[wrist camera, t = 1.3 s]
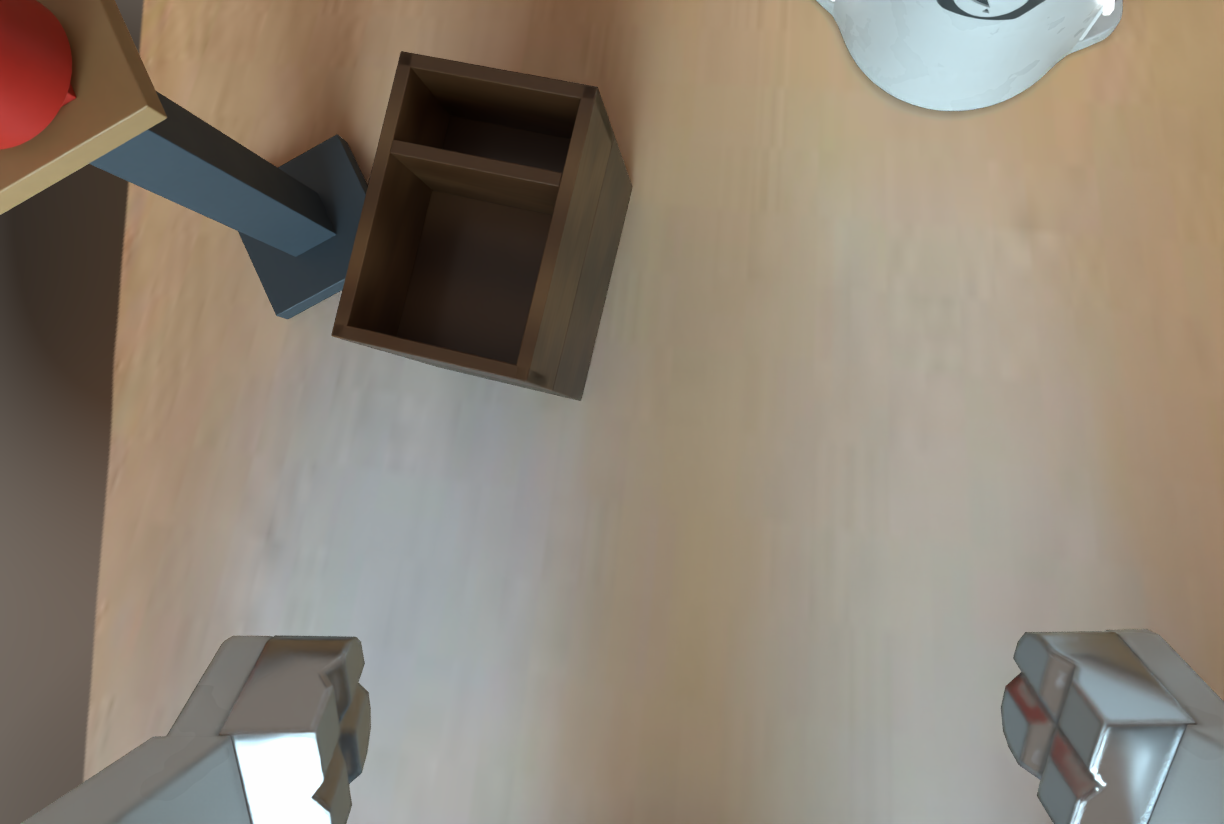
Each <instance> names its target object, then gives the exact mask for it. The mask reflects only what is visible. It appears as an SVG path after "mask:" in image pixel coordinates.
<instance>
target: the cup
mask: <svg viewBox="0 0 1224 824" xmlns="http://www.w3.org/2000/svg"><path fill="white" fill-rule="evenodd" d="M71 75H72V55H71V49H70V44H69V41H68V38H67V35H66V33H65V31H64V29H63V27H62V25H61V24H60V22H59V21H58V19H57V18H56V17H55V16H54V14H53V13H52V12H51V11H50V10H49V9H47V8H46V7H45V6H43V5H42V4H41V3H39V2H38V1H36V0H0V149H7V148H12V147H15V146H18V145H21V144H23V143H25V142H27V141H29V140H31V139H32V138H34V137H35V136H36V135H38V134H39V133H40V132H41V131H43V130H44V129H45V128H46V127H47V126H48V125H49V124H50V122H51V121H52V120H53V119H54V117H55V116H56V115H57V113H58V112H59V110H60V108H61V107H62V106H64V105H66V104H67V103H69V102H71V101H72V100H74V99H76V98H77V97H76V95H75V92H74V90H73V88H72V86H71V83H70V81H71Z"/></svg>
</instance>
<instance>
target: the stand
mask: <svg viewBox="0 0 1224 824" xmlns="http://www.w3.org/2000/svg"><path fill="white" fill-rule="evenodd" d="M36 1H38V2H39V3H41V4H42V5H43V6H45V7H46V8H47V9H49V10H50V11H51V12H52V13H53V14H54V16H55V17H56V18H57V19H58V21H59V22H60V24H61V25H62V27H63V29H64V31H65V33H66V35H67V38H68V41H69V44H70V49H71V55H72V75H71V81H70V83H71V86H72V88H73V90H74V92H75V95H76V97H77V98H76V99H74V100H72V101H71V102H69V103H67V104H66V105H64V106H62V107H61V108H60V110H59V112H58V113H57V115H56V116H55V117H54V119H53V120H52V121H51V122H50V124H49V125H48V126H47V127H46V128H45V129H44V130H43V131H41V132H40V133H39V134H38V135H36V136H35V137H34V138H32V139H31V140H29V141H27V142H25V143H23V144H21V145H18V146H15V147H12V148H7V149H0V215H1V214H2V213H4V212H6V211H8V210H10V209H11V208H13V207H15V206H16V205H18V204H20V203H21V202H23V201H25V200H27V199H29V198H30V197H32V196H34V195H35V194H37V193H39V192H40V191H42V190H44V189H46V188H48V187H49V186H51V185H53V184H54V183H56V182H58V181H60V180H61V179H63V178H65V177H66V176H68V175H70V174H72V173H73V172H75V171H77V170H79V169H80V168H82V167H84V166H85V165H87V164H91V165H93V166H95V167H98V168H101V169H103V170H104V171H107V172H109V173H111V174H113V175H115V176H118V177H120V178H122V179H124V180H126V181H129V182H131V183H133V184H135V185H138V186H140V187H142V188H144V189H146V190H149V191H151V192H153V193H155V194H157V195H160V196H162V197H164V198H166V199H169V200H171V201H173V202H175V203H177V204H180V205H182V206H184V207H186V208H189V209H191V210H193V211H195V212H197V213H200V214H202V215H204V216H206V217H208V218H211V219H213V220H215V221H217V222H220V223H222V224H224V225H226V226H228V227H231V228H233V229H235V230H237V231H238V232H239V234H240V237H241V239H242V241H243V243H244V245H245V248H246V250H247V252H248V254H249V256H250V259H251V261H252V263H253V265H254V267H255V270H256V272H257V274H258V276H259V278H260V281H261V283H262V285H263V287H264V289H265V292H266V294H267V296H268V298H269V300H270V303H271V305H272V307H273V309H274V311H275V314H276V316H279V317H282V318H286V319H289V318H291V317H293V316H295V315H297V314H298V313H300V312H302V311H304V310H306V309H308V308H310V307H311V306H313V305H315V304H317V303H319V302H321V301H322V300H324V299H326V298H328V297H330V296H332V295H334V294H335V293H337V292H339V291H341V290H343V286H344V282H345V278H346V274H347V270H348V265H349V261H350V257H351V253H352V249H353V245H354V241H355V237H356V233H357V229H358V225H359V221H360V216H361V212H362V208H363V204H364V200H365V196H366V192H367V188H368V185H367V183H366V181H365V179H364V177H363V175H362V173H361V170H360V168H359V166H358V164H357V162H356V160H355V158H354V156H353V154H352V152H351V149H350V147H349V145H348V143H347V142H346V141H345V140H344V139H342V138H341V137H340V136H339V135H335V136H333V137H331V138H330V139H328V140H326V141H324V142H323V143H321V144H319V145H317V146H315V147H314V148H312V149H310V150H308V151H307V152H305V153H303V154H301V155H299V156H298V157H296V158H294V159H292V160H291V161H289V162H287V163H285V164H284V165H282V166H280V167H278V168H277V167H276V166H274V165H272V164H271V163H269V162H268V161H266V160H265V159H263V158H261V157H260V156H258V155H257V154H255V153H253V152H252V151H250V150H249V149H247V148H246V147H244V146H242V145H241V144H239V143H238V142H236V141H234V140H233V139H231V138H230V137H228V136H227V135H225V134H223V133H222V132H220V131H219V130H217V129H216V128H214V127H212V126H211V125H209V124H208V123H206V122H204V121H203V120H201V119H200V118H198V117H197V116H195V115H193V114H192V113H190V112H189V111H187V110H185V109H184V108H182V107H181V106H179V105H178V104H176V103H174V102H173V101H171V100H170V99H168V98H166V97H165V96H163V95H162V94H160V93H159V92H157V91H155V89H154V86H153V84H152V82H151V80H150V78H149V75H148V73H147V71H146V69H145V67H144V64H143V62H142V60H141V58H140V55H139V53H138V51H137V49H136V47H135V45H134V42H133V40H132V38H131V36H130V33H129V31H128V29H127V27H126V24H125V22H124V20H123V18H122V16H121V14H120V11H119V9H118V7H117V5H116V2H115V0H36Z"/></svg>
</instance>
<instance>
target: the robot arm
mask: <svg viewBox="0 0 1224 824" xmlns="http://www.w3.org/2000/svg"><path fill="white" fill-rule="evenodd" d="M816 1H817V2H818V3H819V4H820V5H821V6H822V7H824V8H825V9H826V10H827V11H828V12H829V13H830V14H831V15H832V16H833V18H834V19H835V21H836V23H837V25H838V27H839V29H840V32H841V34H842V37H843V39H844V42H845V44H846V46H847V48H848V50H849V52H850V54H851V56H852V58H853V59H854V61H855V62H856V64H857V65H858V66H859V68H860V69H861V70H862V71H863V72H864V74H865V75H866V76H867V77H868V78H869V79H870V80H872V81H873V82H874V83H875V84H876V85H877V86H879V87H880V88H881V89H883V90H884V91H886V92H887V93H889V94H890V95H892V96H894V97H896V98H898V99H900V100H902V101H905V102H907V103H910V104H913V105H916V106H919V107H923V108H928V109H933V110H941V111H965V110H973V109H979V108H984V107H987V106H991V105H994V104H997V103H1000V102H1003V101H1005V100H1007V99H1010V98H1012V97H1014V96H1015V95H1017V94H1019V93H1021V92H1022V91H1024V90H1026V89H1027V88H1029V87H1030V86H1031V85H1033V84H1034V83H1036V82H1037V81H1038V80H1039V79H1040V78H1042V77H1043V76H1044V75H1045V74H1046V73H1047V72H1048V71H1049V70H1050V69H1051V68H1052V67H1053V66H1054V65H1055V64H1056V63H1058V62H1059V61H1060V60H1061V59H1062V58H1064V57H1065V56H1067V55H1068V54H1070V53H1073V52H1075V51H1078V50H1081V49H1083V48H1086V47H1088V46H1091V45H1093V44H1095V43H1097V42H1099V41H1101V40H1103V39H1105V38H1106V37H1108V36H1109V35H1110V34H1111V33H1112V32H1113V31H1114V29H1115V28H1116V26H1117V25H1118V23H1119V22H1120V20H1121V17H1122V12H1123V0H816ZM1013 659H1014V660H1015V662H1016V664H1017V665H1018V667H1019V668H1020V670H1021V673H1020V674H1019V675H1018V676H1017V677H1015V678H1014V679H1013V680H1012V681H1011V682H1010V683H1009V684H1008V685H1007V686H1006V687H1005V691H1004V696H1003V700H1002V705H1001V715H1002V725H1003V732H1004V735H1005V738H1006V741H1007V744H1008V747H1009V749H1010V750H1011V752H1012V754H1013V756H1014V758H1015V759H1016V761H1017V763H1018V765H1020V766H1021V767H1022V768H1024V769H1025V770H1027V771H1028V772H1030V773H1031V774H1033V775H1034V776H1035V777H1037V778H1038V779H1040V784H1039V788H1038V793H1037V797H1038V798H1039V800H1040V802H1041V803H1042V805H1043V807H1044V808H1045V810H1046V812H1047V813H1048V815H1049V817H1050V818H1051V820H1052V822H1053V823H1054V824H1224V701H1223V700H1222V699H1221V698H1220V697H1219V696H1218V695H1217V694H1216V693H1215V692H1214V691H1213V690H1212V689H1211V688H1210V687H1209V686H1208V685H1207V684H1206V683H1205V682H1204V681H1203V680H1202V679H1201V678H1200V676H1199V675H1198V674H1197V673H1196V672H1195V671H1194V670H1193V669H1192V668H1191V667H1190V666H1189V665H1188V664H1187V663H1186V662H1185V661H1184V660H1183V659H1182V658H1181V657H1180V656H1179V655H1178V654H1177V653H1176V652H1175V650H1174V649H1173V648H1172V647H1171V646H1170V645H1169V644H1168V643H1167V642H1166V641H1165V640H1164V639H1163V638H1162V637H1161V636H1160V635H1158V634H1157V633H1155V632H1153V631H1150V630H1148V629H1124V630H1106V631H1078V632H1025V633H1024V635H1023V636H1022V637H1021V638H1020V640H1019V641H1018V643H1017V646H1016V650H1015V653H1014V657H1013ZM364 664H365V662H364V657H363V651H362V645H361V641H360V640H359V639H358V638H357V637H337V636H274V637H272V636H232V637H230V638H228V639H227V640H225V641H224V642H223V643H222V644H221V646H220V648H219V649H218V651H217V653H216V654H215V656H214V658H213V659H212V661H211V663H210V664H209V666H208V668H207V669H206V671H205V673H204V674H203V676H202V678H201V679H200V681H199V683H198V684H197V686H196V688H195V689H194V691H193V693H192V694H191V696H190V698H189V699H188V701H187V703H186V704H185V706H184V708H183V709H182V711H181V713H180V714H179V716H178V718H177V719H176V721H175V723H174V724H173V726H172V728H171V729H170V731H169V733H168V734H167V736H164V737H152V738H150V739H149V740H147V741H146V742H144V743H143V744H141V745H140V746H138V747H137V748H135V749H134V750H132V751H131V752H129V753H128V754H126V755H125V756H123V757H121V758H120V759H118V760H117V761H115V762H114V763H112V764H111V765H109V766H108V767H106V768H105V769H103V770H102V771H100V772H99V773H97V774H96V775H94V776H92V777H91V778H89V779H88V780H86V781H85V782H83V783H82V784H80V785H79V786H77V787H76V788H74V789H73V790H71V791H70V792H68V793H67V794H65V795H64V796H62V797H60V798H59V799H57V800H56V801H54V802H53V803H52V804H50V805H48V806H47V807H45V808H44V809H42V810H41V811H39V812H38V813H36V814H35V815H33V816H31V817H30V818H29V819H27V820H25V821H24V822H22V823H21V824H346V823H347V819H348V816H349V813H350V810H351V806H352V802H351V795H350V788H349V784H350V783H351V782H352V781H353V780H354V779H355V778H357V777H358V776H359V775H360V774H361V773H362V770H363V766H364V763H365V759H366V755H367V751H368V744H369V736H370V729H371V708H370V700H369V692H368V691H367V690H366V689H365V688H364V687H362V686H361V685H360V684H359V683H358V682H359V679H360V676H361V673H362V670H363V667H364Z"/></svg>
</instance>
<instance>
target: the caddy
mask: <svg viewBox="0 0 1224 824" xmlns="http://www.w3.org/2000/svg"><path fill="white" fill-rule="evenodd" d="M631 191H632V184H631V181H630V178H629V175H628V173H627V170H626V167H625V164H624V161H623V158H622V156H621V153H620V150H619V147H618V144H617V141H616V139H615V136H614V132H613V129H612V127H611V124H610V121H609V118H608V115H607V112H606V109H605V107H604V104H603V101H602V98H601V95H600V92H599V90H598V87H595V86H589V85H584V84H578V83H573V82H567V81H562V80H556V79H551V78H545V77H540V76H534V75H529V74H523V73H518V72H512V71H507V70H501V69H496V68H490V67H485V66H479V65H474V64H468V63H463V62H457V61H452V60H446V59H441V58H435V57H430V56H425V55H419V54H414V53H408V52H403V51H401V53H400V57H399V61H398V66H397V70H396V74H395V78H394V82H393V86H392V90H391V94H390V98H389V102H388V106H387V110H386V115H385V119H384V123H383V127H382V131H381V135H380V139H379V143H378V147H377V151H376V155H375V159H374V163H373V168H372V172H371V176H370V180H369V184H368V188H367V192H366V196H365V200H364V204H363V208H362V212H361V216H360V221H359V225H358V229H357V233H356V237H355V241H354V245H353V249H352V253H351V257H350V261H349V265H348V270H347V274H346V278H345V282H344V286H343V290H342V294H341V298H340V302H339V306H338V310H337V314H336V318H335V323H334V327H333V331H332V336H333V337H337V338H340V339H343V340H347V341H350V342H354V343H357V344H361V345H364V346H367V347H371V348H374V349H378V350H381V351H385V352H388V353H392V354H395V355H398V356H402V357H405V358H409V359H412V360H416V361H419V362H422V363H426V364H429V365H433V366H436V367H440V368H444V369H449V370H453V371H457V372H461V373H465V374H470V375H474V376H478V377H482V378H486V379H491V380H495V381H499V382H503V383H507V384H512V385H516V386H520V387H524V388H529V389H533V390H537V391H541V392H545V393H550V394H554V395H558V396H562V397H566V398H571V399H575V400H579V401H581V398H582V394H583V390H584V386H585V382H586V378H587V373H588V369H589V365H590V361H591V357H592V353H593V349H594V344H595V340H596V336H597V332H598V328H599V324H600V319H601V315H602V311H603V307H604V303H605V299H606V295H607V290H608V286H609V282H610V278H611V274H612V270H613V265H614V261H615V257H616V253H617V249H618V245H619V241H620V236H621V232H622V228H623V224H624V220H625V216H626V211H627V207H628V203H629V199H630V195H631Z"/></svg>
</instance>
